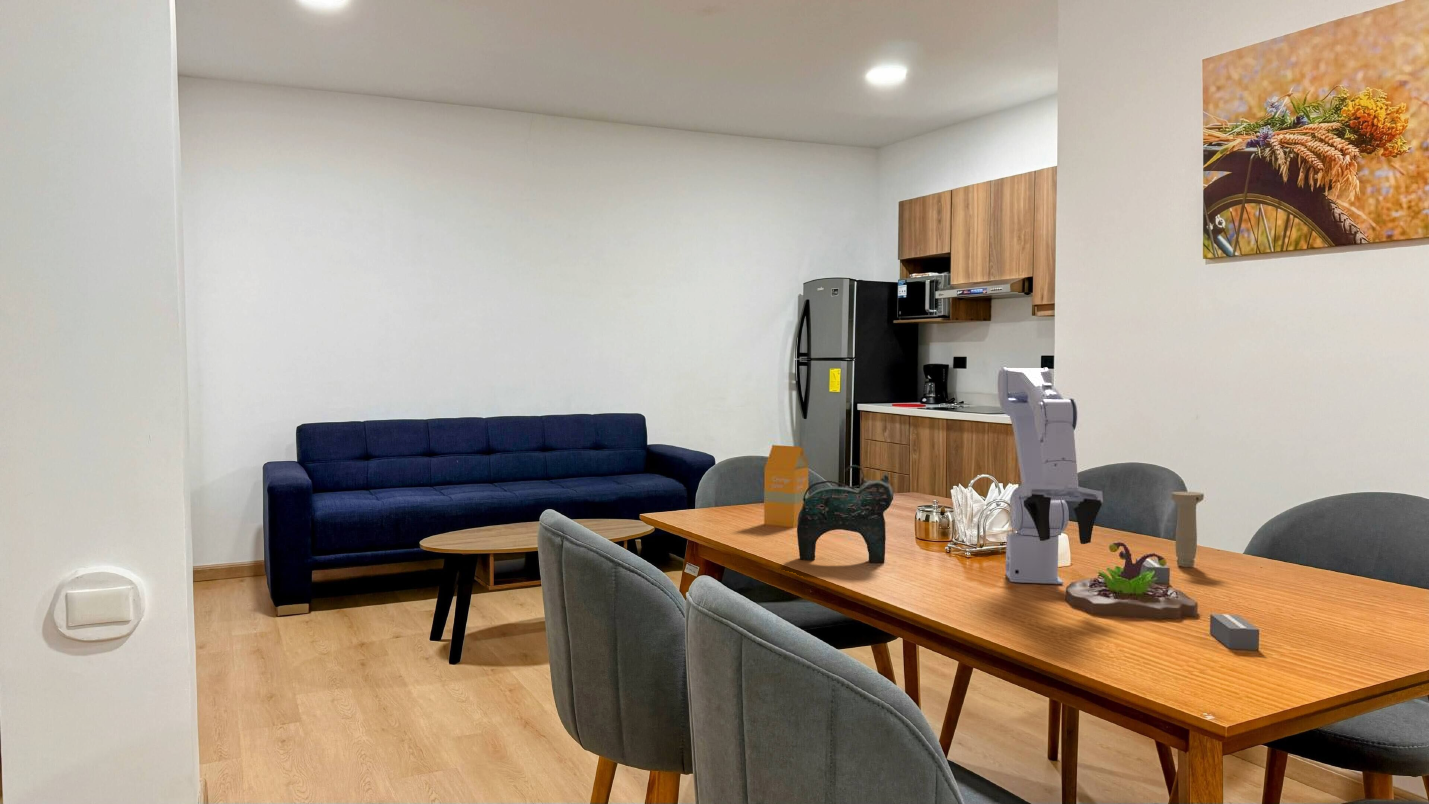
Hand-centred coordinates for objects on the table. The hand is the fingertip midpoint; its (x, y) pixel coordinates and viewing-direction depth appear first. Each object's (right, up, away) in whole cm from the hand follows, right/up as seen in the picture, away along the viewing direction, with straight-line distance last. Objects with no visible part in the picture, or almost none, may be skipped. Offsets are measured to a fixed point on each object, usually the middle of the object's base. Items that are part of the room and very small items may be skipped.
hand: (1065, 541), depth 163 cm
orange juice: (-42, -7, +81) cm, 91 cm away
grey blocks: (+21, -11, 0) cm, 24 cm away
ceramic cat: (-33, -9, +36) cm, 50 cm away
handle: (+36, -10, +32) cm, 49 cm away
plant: (+11, -11, +1) cm, 16 cm away
